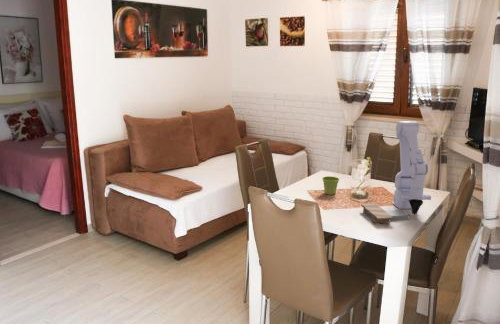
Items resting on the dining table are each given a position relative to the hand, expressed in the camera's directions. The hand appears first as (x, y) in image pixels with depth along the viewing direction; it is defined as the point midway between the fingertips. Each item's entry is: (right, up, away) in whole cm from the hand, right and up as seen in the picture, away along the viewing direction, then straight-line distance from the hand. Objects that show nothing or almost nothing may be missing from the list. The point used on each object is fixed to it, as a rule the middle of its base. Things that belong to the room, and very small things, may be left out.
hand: (414, 214), depth 221 cm
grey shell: (-10, -1, -1) cm, 10 cm away
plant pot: (-35, +7, +34) cm, 50 cm away
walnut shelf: (-19, -1, -3) cm, 20 cm away
